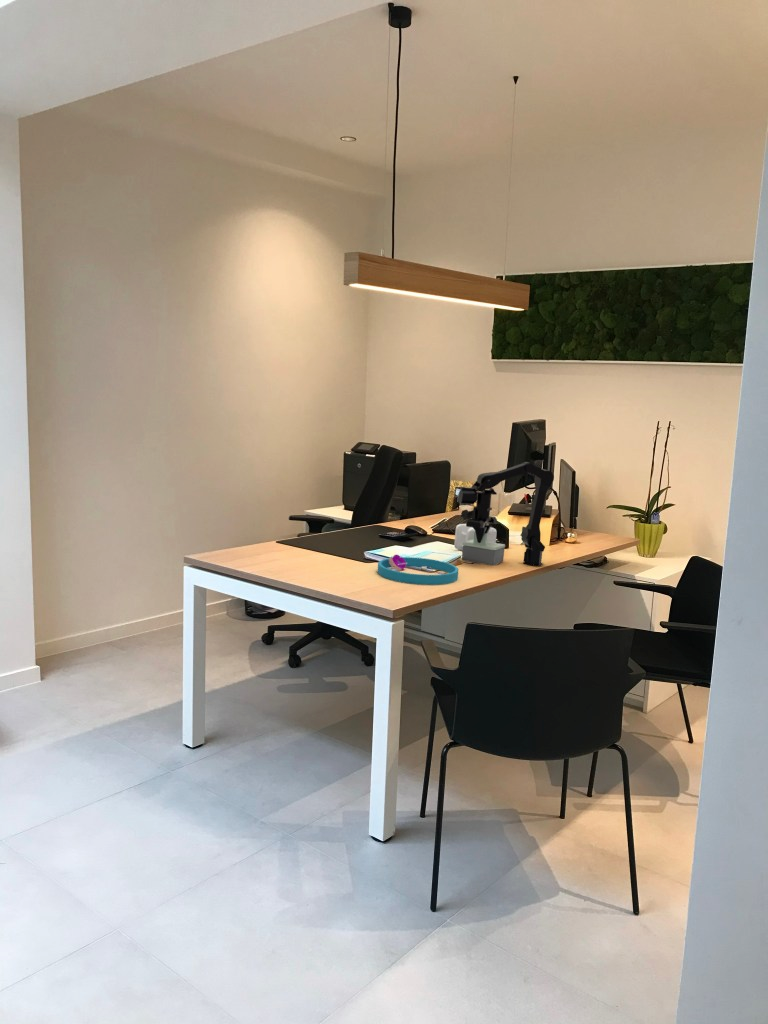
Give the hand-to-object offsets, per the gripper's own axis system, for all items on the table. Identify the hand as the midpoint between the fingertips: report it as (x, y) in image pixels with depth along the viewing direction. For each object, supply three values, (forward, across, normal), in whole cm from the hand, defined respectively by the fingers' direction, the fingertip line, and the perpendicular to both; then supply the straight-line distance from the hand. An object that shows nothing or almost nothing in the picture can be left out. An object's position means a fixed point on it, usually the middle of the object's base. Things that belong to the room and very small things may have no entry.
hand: (479, 542), depth 336 cm
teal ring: (+9, +39, -8) cm, 41 cm away
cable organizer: (+9, -20, -10) cm, 24 cm away
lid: (+3, -5, 0) cm, 6 cm away
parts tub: (+8, -5, 0) cm, 10 cm away
